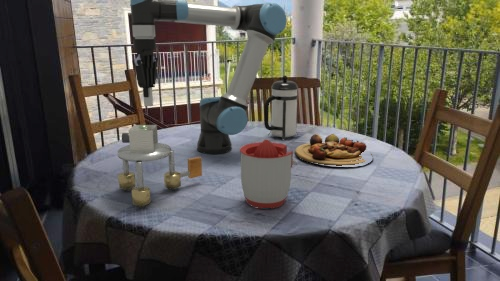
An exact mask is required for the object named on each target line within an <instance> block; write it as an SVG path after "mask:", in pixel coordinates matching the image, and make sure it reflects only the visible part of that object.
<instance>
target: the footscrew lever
mask: <svg viewBox="0 0 500 281" xmlns="http://www.w3.org/2000/svg"><path fill="white" fill-rule="evenodd" d="M167 157H168V171H167V172H165V173H164V174H163V177H164V178H163V179H164V187H165V189H169V190H175V189H178V188H180V187H181V185H182V183H181V179H182V178H184V177H188V178H190V179H194V178H198V177H200V176H203V165H202V164H203V163H202V157H201V156H196V157H192V158H187V170H186V171H181V172H179V171H176V168H175V167H176V166H175V150H173V149H171V154H170V155H169V156H167Z"/></svg>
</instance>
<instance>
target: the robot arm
mask: <svg viewBox="0 0 500 281" xmlns="http://www.w3.org/2000/svg"><path fill="white" fill-rule="evenodd" d="M129 2H130V3H129V4H130V5H129V6H130V13H131V24H132V25H131V27H132V30H131V31H132V37H133V39H132V44H133V45H132V46H133V50H134V51H136V58H135V59H132V61H131V62H132V64H133V66H134V70H135V76H136V80H137V84H138V87H139V88H141V89H142V95H143V106H144V107H153V106H154V98H153V88H155V87H156V83H157V68H158V66H157V65H158V63H159V62H158V61H159V58H158V57H155V54H154V51H155V50H157V41H156V25H155V24H156V23H155V22H167V23H183V24H184V23H185V24H192V25H193V24H194V25H205V26H217V27H229V28H231V30H235V31H241V32H246V34H247V40H246V42H245V44H244V48H243V50H242V52H241V55H240V56H239V57H240V58H239V60H238V62H237V65H236V67H235V70H234V73H233V75H232V77H231V80H230V83H229V86H228V89H227V91H226V93H223V94H221V96H212V97H211V96H209V97H203V98H201V99H200V100H199V117H200V118H199V119H200V121H199V123H200V133H199V138H198V140H197V143H196V150H197V151H198V152H199V153H202V154H207V155H208V154H209V155H219V154H223V153H224V154H225V153H228V152H231V150H232V147H233V146H232V141H231V138H230V136H234V135H235V136H236V135H238V134H239V133H241V132H243V130H245V129H246V126H247V124H248V121H249V118H248V113H247V110H248V108H249V105H248V101H247V100H248V98H249V95H250V93H251V90H252V88H253V85H254V82H255V80H256V78H257V75H258V72H259V71H260V67H261V64H262V63H263V60H264V57H265V55H266V52H267V50H268V47H269V45H271V44H274V43H275V40H276V39H277V38H276V37H277V35H279V34H280V33H282V32H283V31H284V30H285V29H286V27H287V22H288V21H287V15H286V11H285V10H284V7H282V6H281V5H280V4H277V3H274V2H265V3H256V4H249V5H236V4H235V5H233V6H232V7H230V6H229V7H228V6H218V5H210V4H208V5H207V4H200V3H191V2H188V1H187V0H130V1H129Z"/></svg>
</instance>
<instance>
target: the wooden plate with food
mask: <svg viewBox="0 0 500 281" xmlns="http://www.w3.org/2000/svg"><path fill="white" fill-rule="evenodd" d="M322 142H323V138H322V137H321V135H319V134H318V133H314V134H313V135H311V137H310V138H309V143H303V144H301V145H298V146H297V147H296V148H295V151H294V154H295V155H296V157H297V156H298V157H299V158H301V159H303V160H305V161H308V162H313V163H318V164H324V165H336V166H342V165H355V164H359V163H363V162H365V161H366V160H364V159H362V160H359V159H361V158H362V156H359V155H361V153H362V152H364V151H365V150H367V144H366V143H365V142H359V140H357V139H356V141H354V139H348V137H342V138H341V139H340V138H339V137H338V136H337V135H336V134H335V133H331V134H329V135H327V136H326V137H325V138H324V142H325V143H322ZM298 157H297V158H298ZM299 158H298V159H299ZM301 159H300V160H301ZM303 160H302V161H303ZM356 160H358V161H356ZM305 161H304V162H305ZM351 161H352V162H351ZM308 162H307V163H308Z"/></svg>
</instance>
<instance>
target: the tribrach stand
mask: <svg viewBox="0 0 500 281" xmlns="http://www.w3.org/2000/svg"><path fill="white" fill-rule="evenodd" d="M158 138H159V137H158V125H157V124H134V125H133V126H132V127H131V128H130V129H129V130H128V132H122V134H121V142H122V143H125V144H128V145H125V146H122V147H121V148H119V149H118V150H117V157H118V158H119V159H121V160H122V161H121V162H122V170H123V172H120V173H119V174H117V178H118V187H119V189H122V190H125V192H130V191H131V199H132V205H133V206H138V208H139V209H143V208H145V207H146V206H147V205H149V204H150V203H151V202H152V200H151V188H150V187H149V186H145V183H144V173H143V172H144V170H143V162H150V161H157V160H162V159H164V158H167V157H168V156H169V155H170V154H171V150H172V147H171V146H170V145H169V144H167V143H162V142H159V139H158ZM129 162H134V163H135V171H136V172H132V171H130V165H129Z"/></svg>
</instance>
